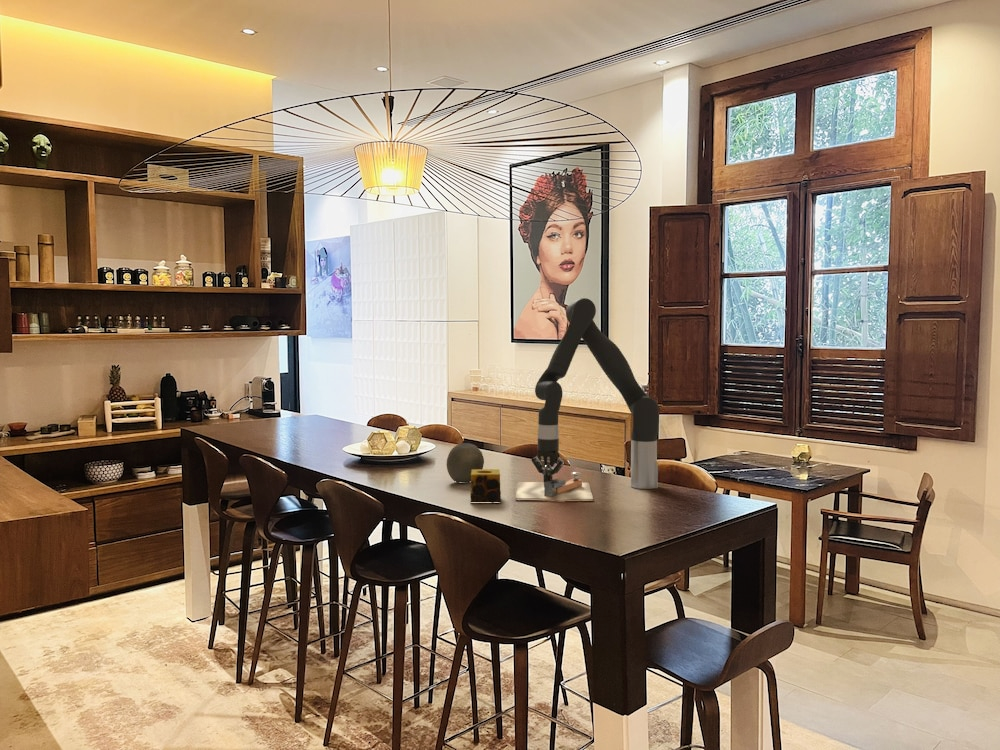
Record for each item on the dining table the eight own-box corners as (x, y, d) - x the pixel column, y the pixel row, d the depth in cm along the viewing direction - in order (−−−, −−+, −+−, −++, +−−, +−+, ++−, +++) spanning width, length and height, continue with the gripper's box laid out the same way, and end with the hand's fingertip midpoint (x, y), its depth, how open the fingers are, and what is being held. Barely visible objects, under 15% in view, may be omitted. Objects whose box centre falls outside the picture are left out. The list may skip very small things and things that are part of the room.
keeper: (555, 491, 267) (555, 478, 267) (565, 492, 265) (565, 480, 264) (543, 496, 260) (543, 482, 260) (553, 497, 258) (553, 484, 257)
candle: (500, 504, 252) (500, 474, 252) (470, 504, 252) (470, 474, 252) (500, 497, 262) (500, 468, 262) (471, 497, 262) (471, 469, 262)
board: (588, 485, 283) (588, 482, 283) (593, 501, 255) (593, 498, 255) (518, 484, 285) (518, 482, 285) (515, 500, 257) (515, 498, 257)
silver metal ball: (580, 479, 277) (580, 471, 277) (580, 480, 273) (580, 473, 273) (570, 479, 277) (570, 471, 277) (571, 480, 274) (571, 473, 273)
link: (573, 484, 278) (573, 478, 278) (584, 485, 276) (584, 479, 276) (548, 492, 264) (548, 486, 264) (559, 493, 261) (559, 488, 261)
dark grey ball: (444, 486, 281) (444, 446, 280) (448, 479, 295) (448, 441, 294) (483, 487, 280) (483, 446, 280) (485, 479, 295) (484, 441, 294)
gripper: (569, 437, 271) (569, 485, 272) (537, 434, 278) (537, 481, 279) (559, 439, 264) (559, 489, 265) (526, 436, 272) (526, 485, 272)
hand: (547, 485), depth 272 cm, fingers closed
